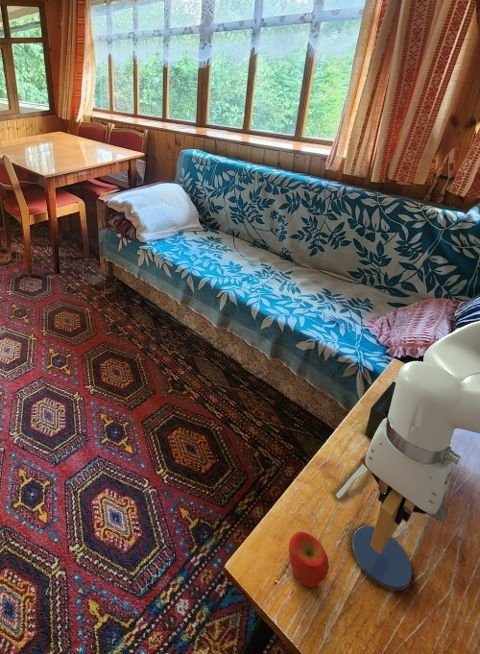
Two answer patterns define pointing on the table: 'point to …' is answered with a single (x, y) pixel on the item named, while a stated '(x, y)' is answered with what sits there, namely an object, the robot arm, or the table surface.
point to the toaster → (380, 410)
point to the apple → (308, 559)
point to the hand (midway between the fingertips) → (392, 511)
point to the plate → (382, 560)
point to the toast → (386, 521)
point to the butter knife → (351, 480)
